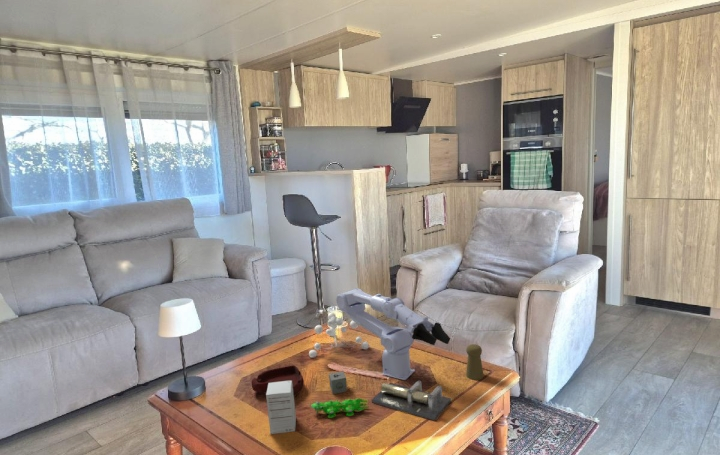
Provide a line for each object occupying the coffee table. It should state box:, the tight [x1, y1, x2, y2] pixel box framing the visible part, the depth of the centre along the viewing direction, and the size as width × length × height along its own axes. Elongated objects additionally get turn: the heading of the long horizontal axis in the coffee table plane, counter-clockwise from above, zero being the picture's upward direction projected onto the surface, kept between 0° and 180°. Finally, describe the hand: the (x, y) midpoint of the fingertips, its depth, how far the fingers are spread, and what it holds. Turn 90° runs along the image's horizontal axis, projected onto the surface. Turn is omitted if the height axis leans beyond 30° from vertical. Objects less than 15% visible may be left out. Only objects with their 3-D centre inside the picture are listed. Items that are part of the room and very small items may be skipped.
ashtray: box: [251, 365, 305, 397], centre depth 159 cm, size 18×16×5 cm
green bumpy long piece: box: [310, 397, 369, 419], centre depth 141 cm, size 7×18×4 cm, turn 92°
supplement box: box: [265, 381, 297, 435], centre depth 135 cm, size 7×7×13 cm
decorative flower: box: [308, 312, 370, 359], centre depth 187 cm, size 25×22×14 cm
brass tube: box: [380, 382, 429, 404], centre depth 145 cm, size 16×3×3 cm, turn 56°
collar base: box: [371, 380, 452, 422], centre depth 144 cm, size 22×12×6 cm, turn 56°
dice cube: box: [328, 371, 348, 395], centre depth 155 cm, size 5×5×5 cm
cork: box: [465, 343, 485, 381], centre depth 157 cm, size 6×6×11 cm
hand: (441, 341), depth 145 cm, fingers open, 7 cm apart
